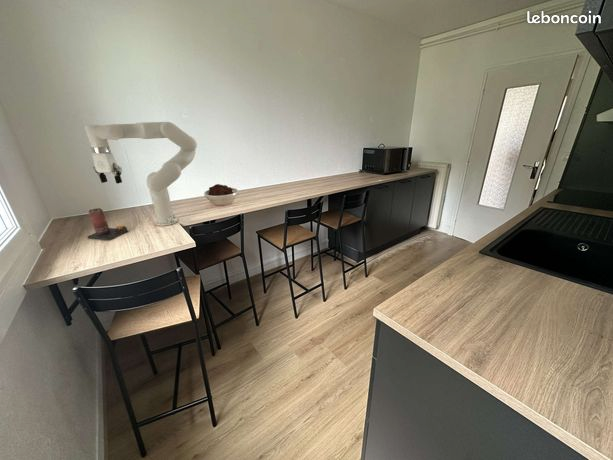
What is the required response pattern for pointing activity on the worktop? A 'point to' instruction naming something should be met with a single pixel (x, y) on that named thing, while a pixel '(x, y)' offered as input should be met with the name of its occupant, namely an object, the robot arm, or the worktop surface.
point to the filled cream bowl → (221, 194)
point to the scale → (109, 234)
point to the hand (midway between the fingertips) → (111, 182)
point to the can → (99, 221)
